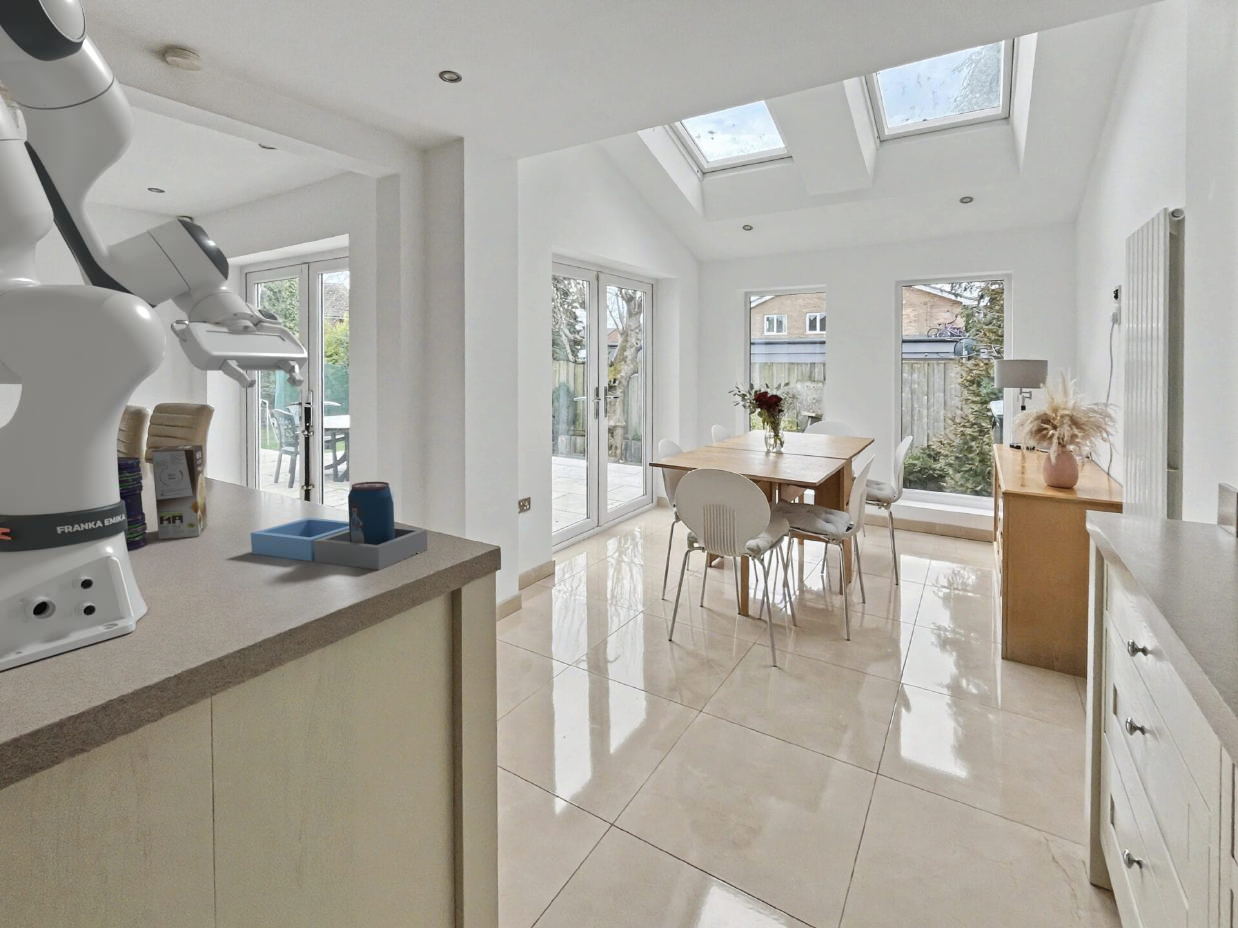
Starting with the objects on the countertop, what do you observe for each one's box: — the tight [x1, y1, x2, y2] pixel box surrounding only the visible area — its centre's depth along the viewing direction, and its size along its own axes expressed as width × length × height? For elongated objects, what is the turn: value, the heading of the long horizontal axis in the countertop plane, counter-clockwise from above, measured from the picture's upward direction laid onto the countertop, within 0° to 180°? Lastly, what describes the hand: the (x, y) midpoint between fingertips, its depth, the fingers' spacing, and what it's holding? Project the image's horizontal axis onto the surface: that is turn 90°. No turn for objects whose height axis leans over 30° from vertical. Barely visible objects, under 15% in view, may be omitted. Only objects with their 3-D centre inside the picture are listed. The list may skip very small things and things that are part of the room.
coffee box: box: [151, 444, 209, 540], centre depth 116 cm, size 9×6×16 cm
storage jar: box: [117, 456, 148, 553], centre depth 105 cm, size 10×10×15 cm
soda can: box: [347, 481, 395, 545], centre depth 103 cm, size 7×7×12 cm
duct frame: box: [250, 517, 428, 571], centre depth 106 cm, size 12×25×4 cm, turn 72°
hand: (275, 384), depth 104 cm, fingers open, 8 cm apart
